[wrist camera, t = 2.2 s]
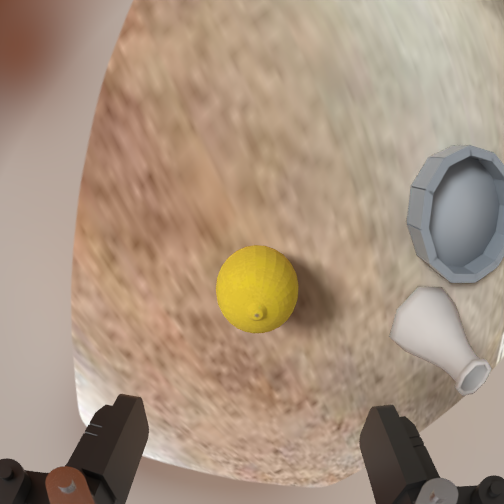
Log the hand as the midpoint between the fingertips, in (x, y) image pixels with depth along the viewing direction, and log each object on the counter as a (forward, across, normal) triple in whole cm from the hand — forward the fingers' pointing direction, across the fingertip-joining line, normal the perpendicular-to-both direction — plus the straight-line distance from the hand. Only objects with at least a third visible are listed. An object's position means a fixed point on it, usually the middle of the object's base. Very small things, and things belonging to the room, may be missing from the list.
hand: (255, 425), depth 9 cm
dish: (+16, -18, -6) cm, 25 cm away
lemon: (+16, 0, 0) cm, 16 cm away
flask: (+16, -16, +4) cm, 23 cm away
